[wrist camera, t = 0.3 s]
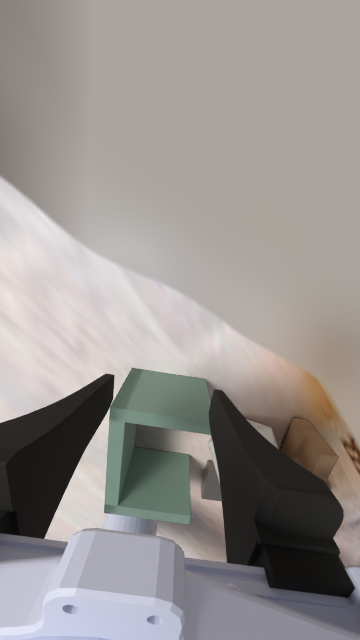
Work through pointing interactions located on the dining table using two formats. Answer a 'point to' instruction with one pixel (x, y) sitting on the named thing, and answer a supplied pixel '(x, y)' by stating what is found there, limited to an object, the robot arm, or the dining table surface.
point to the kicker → (309, 449)
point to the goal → (147, 464)
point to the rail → (214, 483)
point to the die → (262, 429)
